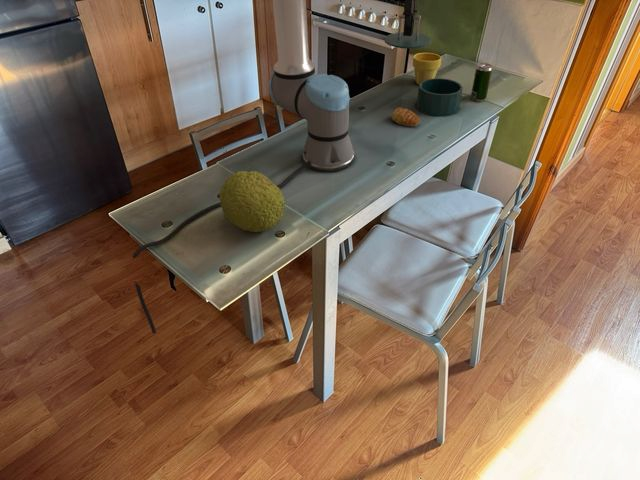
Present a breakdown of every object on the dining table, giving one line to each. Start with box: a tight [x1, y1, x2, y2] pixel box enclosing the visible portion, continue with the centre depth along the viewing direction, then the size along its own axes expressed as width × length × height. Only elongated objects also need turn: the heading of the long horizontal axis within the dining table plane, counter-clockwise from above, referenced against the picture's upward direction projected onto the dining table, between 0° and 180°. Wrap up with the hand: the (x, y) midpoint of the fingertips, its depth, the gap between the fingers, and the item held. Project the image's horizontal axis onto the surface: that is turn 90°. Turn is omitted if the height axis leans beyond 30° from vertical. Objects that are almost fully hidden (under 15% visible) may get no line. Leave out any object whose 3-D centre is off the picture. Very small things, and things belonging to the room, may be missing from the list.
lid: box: [384, 13, 432, 50], centre depth 155 cm, size 15×15×9 cm
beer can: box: [470, 62, 493, 103], centre depth 165 cm, size 5×5×12 cm
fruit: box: [219, 170, 286, 233], centre depth 112 cm, size 16×14×15 cm
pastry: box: [391, 107, 421, 127], centre depth 155 cm, size 9×7×4 cm
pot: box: [416, 77, 464, 117], centre depth 162 cm, size 14×14×8 cm
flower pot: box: [412, 52, 442, 86], centre depth 179 cm, size 10×10×10 cm
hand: (407, 34), depth 156 cm, fingers closed on lid
